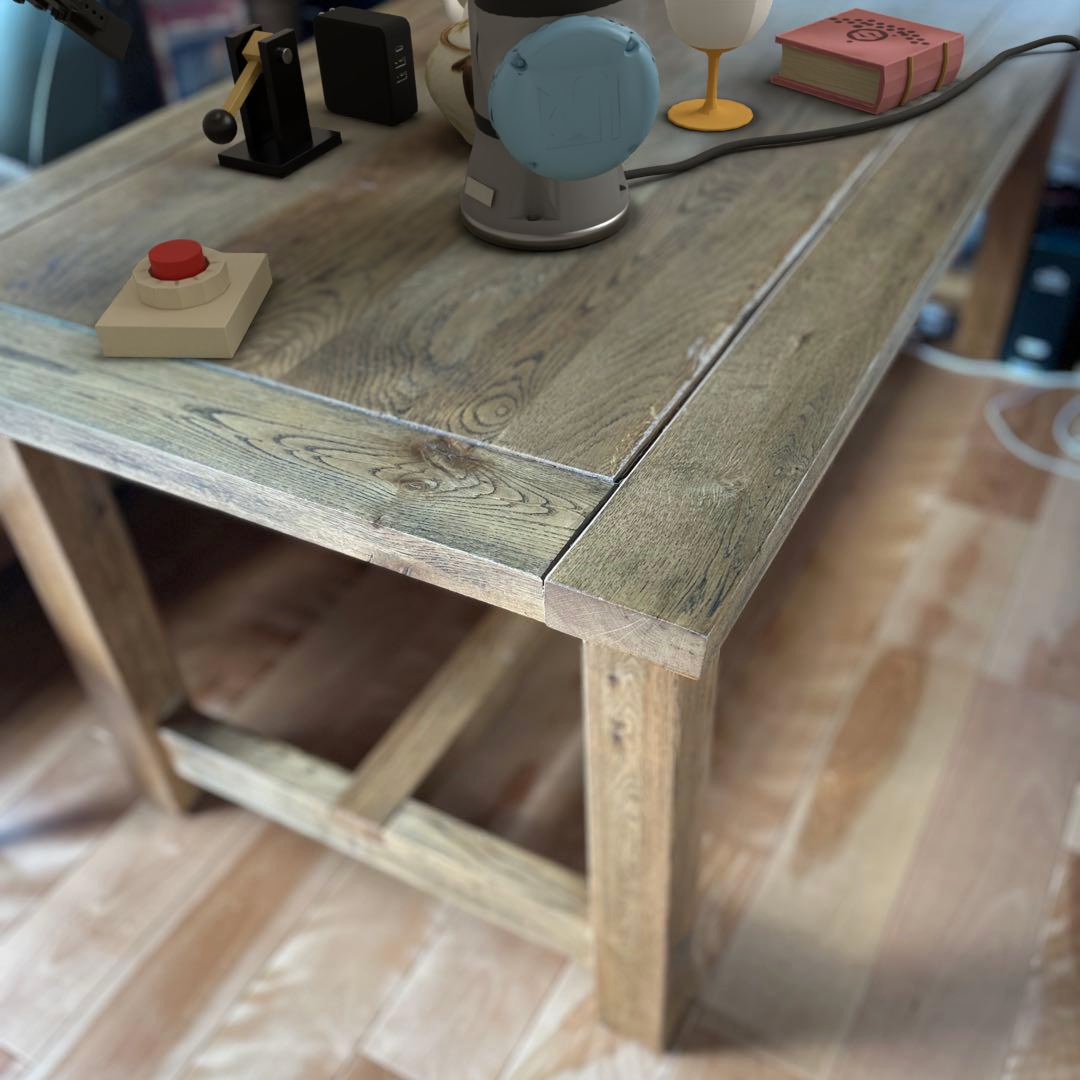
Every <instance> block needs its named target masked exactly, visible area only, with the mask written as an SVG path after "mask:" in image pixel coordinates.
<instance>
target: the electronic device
mask: <svg viewBox="0 0 1080 1080" xmlns="http://www.w3.org/2000/svg"><path fill="white" fill-rule="evenodd" d="M312 29H313V35H314V36H313V37H314V42H315V47H316V55H317V62H318V68H319V75H320V81H321V87H322V94H323V101H324V105H325V107H326V109H327V110H328V111H330V112H331V113H334V114H338V115H342V116H347V117H350V118H356V119H359V120H363V121H368V122H372V123H376V124H379V125H385V126H388V127H389V126H394V125H395V124H397V123H399V122H403V121H404V120H406V119H408V118H409V117H411V116H414V115H415V114H417V113H418V112H419V101H418V91H417V81H416V70H415V62H414V61H415V60H414V51H413V40H412V33H411V32H412V29H411V25H410V22H409V21H408V19H407V18H406V17H404V16H402V15H397V14H396V15H395V14H391V13H385V12H381V11H374V10H369V9H362V8H357V7H352V6H347V5H340V6H338V7H335V8H334V7H331V8H329V9H328V11H325V12H322V11H320V12H319V13H318V14H317V15H314V17H313V18H312Z"/></svg>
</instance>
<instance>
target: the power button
mask: <svg viewBox="0 0 1080 1080" xmlns="http://www.w3.org/2000/svg"><path fill="white" fill-rule="evenodd" d="M202 247H203V246H202V245H201V244H200V242H198V241H196V240H194V239H188V238H178V239H177V238H176V239H170V240H166V241H163V242H160V243H158V244H156V245H155V246H153V247H152V248H150V249H149V251H148V252H147V254H148V257H149V261H150V264H151V268H152V271H153V275H154V277H155V278H156V279H158V280H161V281H178V280H183V279H187V278H191V277H194V276H196V275H198V274H200V273H202V272H204V271H205V270H206V263H205V259H204V255H203V251H202Z"/></svg>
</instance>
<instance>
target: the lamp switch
mask: <svg viewBox="0 0 1080 1080" xmlns="http://www.w3.org/2000/svg"><path fill="white" fill-rule="evenodd" d="M254 31H261V32H264V30H263V25H262V24H260V23H252V24H250V25H247V26H245V27H243V28H241V29H238V30H236V31H234V32H231V33H228V34H227V35H224V42H225V46H226V51H227V56H228V60H229V65H230V71H231V75H232V79H233V81H232V82H233V84H234V86H235V84H236V82H237V81H238V79H239V77H240V75H241V74H242V72H243V70H244V69H245V67H246V65H247V63H248V62H247V60H246V59H245V57H244V56H243V54H242V52H243V50H244V48H245V47H246V45H247V43H248V41H249V40H250V38H251V36H252V35H253V33H254ZM297 43H298V42H297V37H296V30H295V29H294V28H284V29H282V30H279V31H278V32H275V33H273V35H271V36H269V37H266V38H264V39H262V40H260V41H258V47H259V53H260V58H261V63H262V69H263V73H260V75H259V76H258V78H257V80H256V82H255V83H254V85H253V87H252V89H251V90H250V92H249V94H248V95H247V97H246V99H245V101H244V102H243V104H242V106H241V108H240V109H239V115H240V119H241V124H242V129H243V134H244V137H245V138H244V139H243V140H241V141H239V142H237V143H235V144H233V145H231V146H230V147H227V148H226V149H224V150H221V151H220V152H218V153H217V159H218V163H219V166H221V167H224V168H225V167H226V168H230V169H234V170H239V171H244V172H249V173H252V174H253V173H254V174H258V175H263V176H269V177H273V178H278V179H285V178H286V177H288V176H290V175H291V174H293V173H295V172H296V171H298V170H299V169H301V168H302V167H304V166H307V165H308V164H310V163H311V162H312V161H314V160H316V159H318V158H320V157H321V156H323V155H325V154H326V153H329V151H331V150H334V149H335V148H337V147H338V146H340V145H341V144H343V140H342V133H341V131H339V130H333V129H327V128H322V127H316V126H311V122H310V116H309V109H308V104H307V97H306V91H305V85H304V79H303V73H302V66H301V62H300V55H299V50H298V49H299V48H298V44H297ZM234 86H233V87H234Z"/></svg>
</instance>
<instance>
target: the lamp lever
mask: <svg viewBox="0 0 1080 1080" xmlns="http://www.w3.org/2000/svg"><path fill="white" fill-rule="evenodd" d="M273 34H274V33H273V32H266V31H263V32H261V31H254V33H253V35H252V36H251V38H250V40H249V41H248V43H247V45H246V47H245V48H244V50H243V52H242V54H243V56H244V57H245V59H246V60H247V62H248V63H247V65H246V67H245V69H244V70H243V72H242V74H241V75H240V77H239V79H238V81H237V82H236V84H235V86H233V88H232V89H231V91H230V93H229V94H228V96H227V98H226V100H225V101H224V103H223V105H222V106H221V108H213V109H211V110H209V111H208V112H206V113H205V115H204V116H203V119H202V124H201V125H202V131H203V134H204V135H205V137H206V138H207V139H208V140H209V141H210V142H212V143H213V144H215V145H221V146H222V145H227V144H230V143H231V142H233V140H234V139H235V138H236V136H237V134H238V123H237V121H236V120H237V119H236V116H237V114H238V112H240V110H239V109H240V108H241V106H242V104H243V102H244V101H245V99H246V97H247V95H248V94H249V92H250V90H251V89H252V87H253V85H254V83H255V82H256V80H257V78H258V76H259V75H260V73H263V69H262V63H261V58H260V53H259V47H258V41H260V40H262V39H264V38H266V37H269V36H271V35H273Z"/></svg>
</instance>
